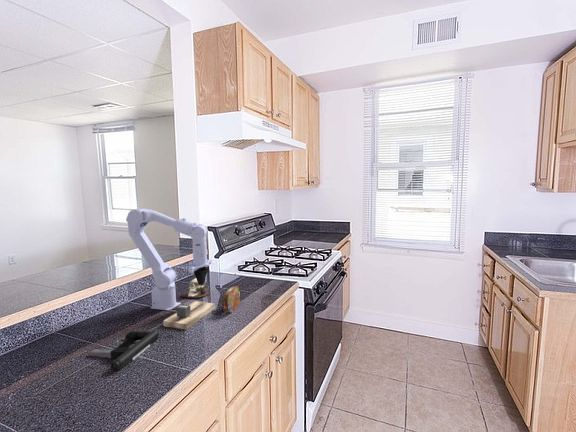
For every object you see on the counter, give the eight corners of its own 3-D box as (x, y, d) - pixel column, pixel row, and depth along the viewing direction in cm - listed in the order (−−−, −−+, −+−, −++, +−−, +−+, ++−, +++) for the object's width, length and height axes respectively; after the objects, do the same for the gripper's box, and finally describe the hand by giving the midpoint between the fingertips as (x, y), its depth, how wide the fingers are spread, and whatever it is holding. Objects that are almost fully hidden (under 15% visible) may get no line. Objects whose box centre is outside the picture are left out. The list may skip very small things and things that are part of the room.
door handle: (73, 360, 89) (121, 362, 86) (121, 328, 109) (163, 328, 106) (74, 371, 90) (123, 373, 87) (122, 337, 109) (164, 338, 106)
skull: (202, 298, 140) (187, 281, 141) (188, 311, 143) (174, 294, 144) (215, 288, 151) (202, 272, 152) (203, 300, 154) (190, 285, 155)
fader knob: (176, 316, 117) (176, 307, 117) (181, 313, 120) (181, 304, 120) (185, 317, 116) (185, 308, 116) (190, 314, 119) (190, 305, 119)
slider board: (163, 326, 115) (163, 320, 115) (194, 305, 134) (194, 301, 134) (186, 329, 112) (186, 324, 112) (215, 308, 131) (215, 303, 131)
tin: (228, 316, 123) (228, 295, 122) (221, 315, 124) (220, 295, 123) (241, 301, 138) (241, 283, 137) (235, 301, 138) (234, 283, 137)
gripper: (198, 258, 123) (199, 290, 125) (217, 250, 137) (218, 280, 138) (183, 257, 125) (184, 289, 127) (203, 249, 139) (204, 278, 141)
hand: (201, 284), depth 133 cm, fingers closed
